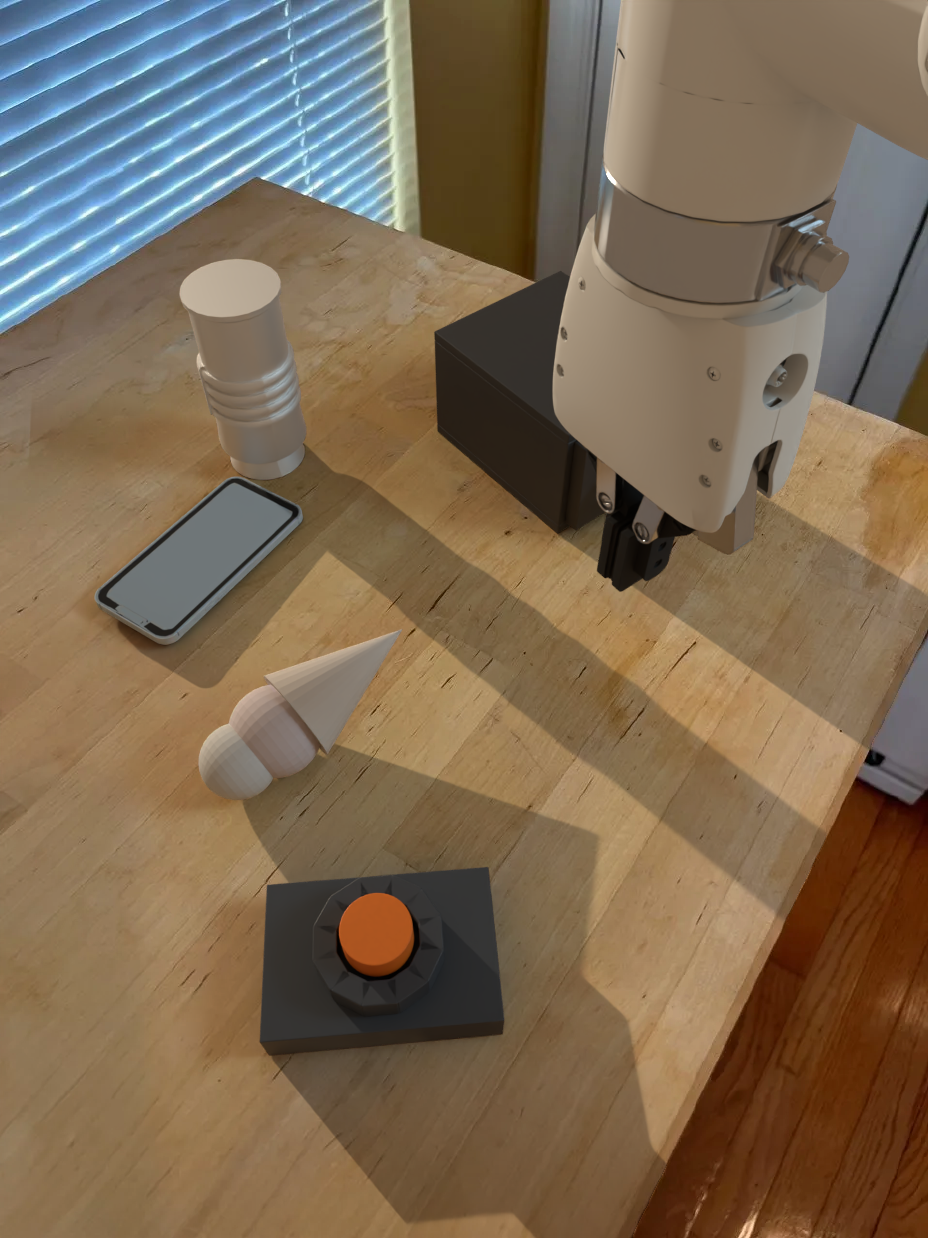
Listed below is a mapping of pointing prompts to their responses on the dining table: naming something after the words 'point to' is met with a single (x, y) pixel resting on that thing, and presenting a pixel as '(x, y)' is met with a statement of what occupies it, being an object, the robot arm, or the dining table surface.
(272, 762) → the ice cream cone
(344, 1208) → the dining table surface
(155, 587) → the smartphone
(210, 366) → the beige ribbed canister
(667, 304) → the robot arm
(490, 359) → the cabinet
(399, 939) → the button
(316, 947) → the control block
